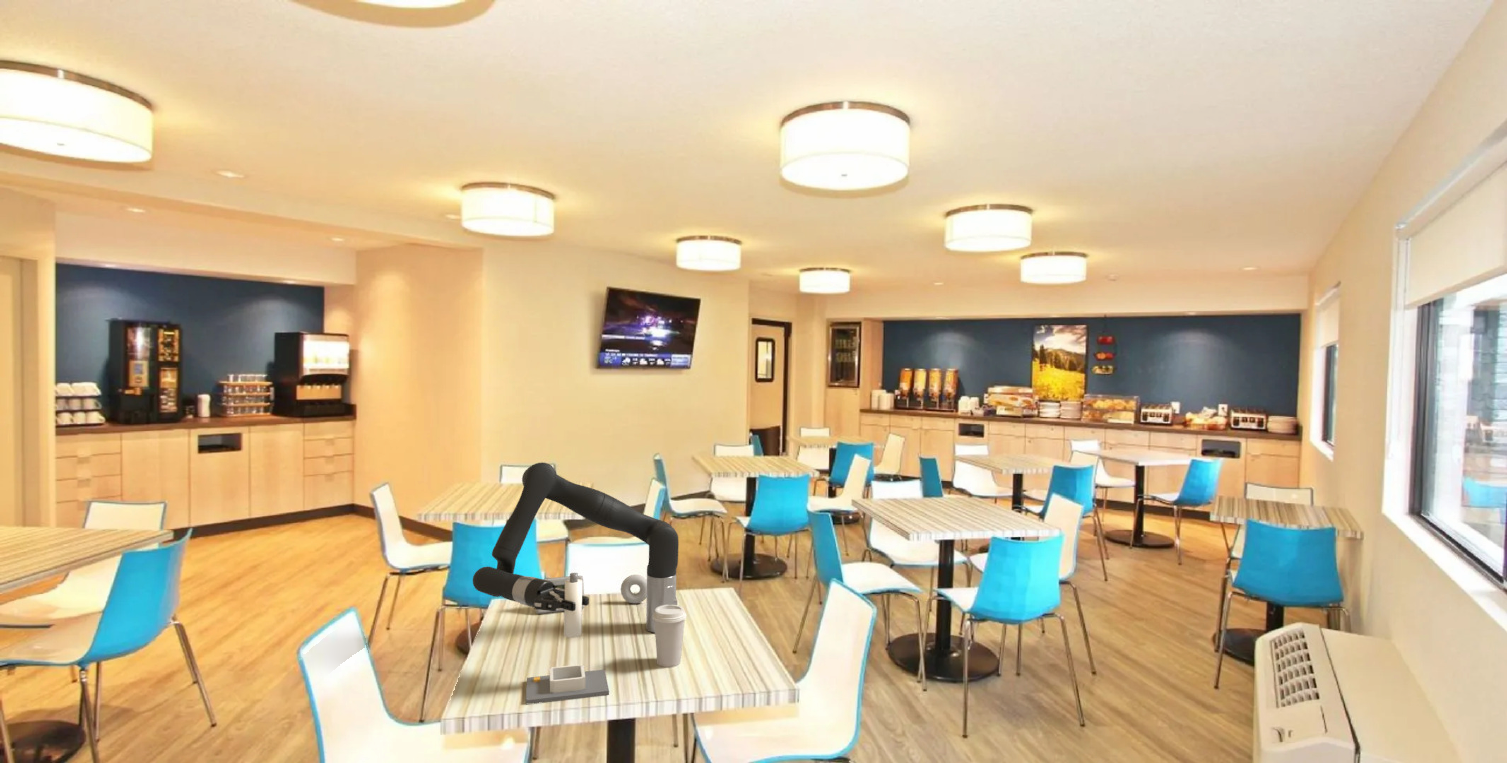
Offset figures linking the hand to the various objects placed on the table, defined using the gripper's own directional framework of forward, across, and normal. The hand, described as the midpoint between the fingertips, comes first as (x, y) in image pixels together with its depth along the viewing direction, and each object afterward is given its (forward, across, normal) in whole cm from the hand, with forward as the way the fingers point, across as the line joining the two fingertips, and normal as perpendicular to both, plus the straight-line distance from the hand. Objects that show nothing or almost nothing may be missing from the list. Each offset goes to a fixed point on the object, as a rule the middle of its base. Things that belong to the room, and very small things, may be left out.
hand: (581, 604), depth 188 cm
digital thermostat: (-44, +38, +22) cm, 62 cm away
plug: (-3, 0, +8) cm, 9 cm away
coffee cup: (+12, +23, +21) cm, 33 cm away
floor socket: (-1, -3, +21) cm, 21 cm away
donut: (-27, +56, +21) cm, 66 cm away
